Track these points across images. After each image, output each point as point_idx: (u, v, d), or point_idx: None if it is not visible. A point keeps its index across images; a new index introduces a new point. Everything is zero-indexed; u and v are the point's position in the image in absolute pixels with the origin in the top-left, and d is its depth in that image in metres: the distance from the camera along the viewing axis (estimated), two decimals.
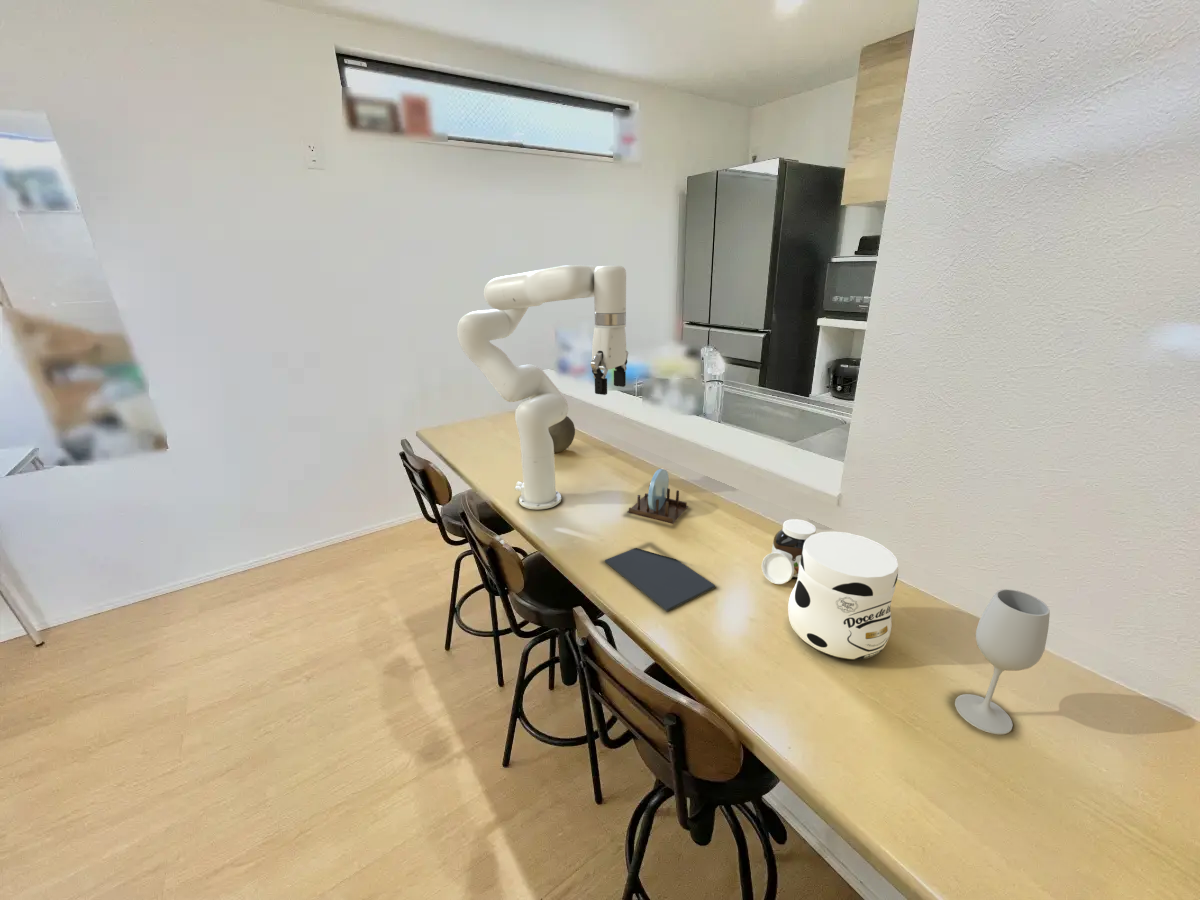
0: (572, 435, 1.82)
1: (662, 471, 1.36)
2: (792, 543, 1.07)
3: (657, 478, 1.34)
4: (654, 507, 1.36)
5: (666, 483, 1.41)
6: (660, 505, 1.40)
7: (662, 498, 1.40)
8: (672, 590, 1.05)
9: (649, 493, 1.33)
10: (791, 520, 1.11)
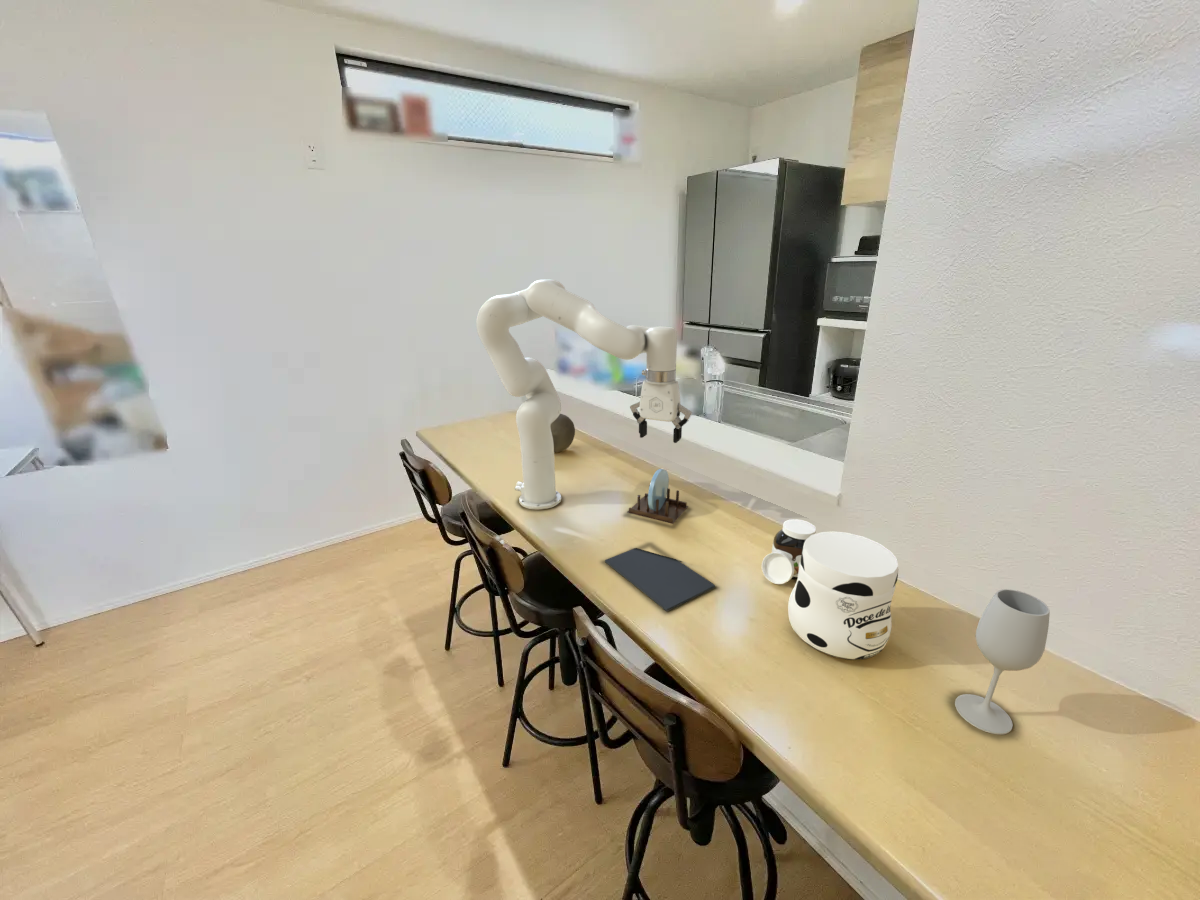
0: (572, 435, 1.82)
1: (662, 471, 1.36)
2: (792, 543, 1.07)
3: (657, 478, 1.34)
4: (654, 507, 1.36)
5: (666, 483, 1.41)
6: (660, 505, 1.40)
7: (662, 498, 1.40)
8: (672, 590, 1.05)
9: (649, 493, 1.33)
10: (791, 520, 1.11)
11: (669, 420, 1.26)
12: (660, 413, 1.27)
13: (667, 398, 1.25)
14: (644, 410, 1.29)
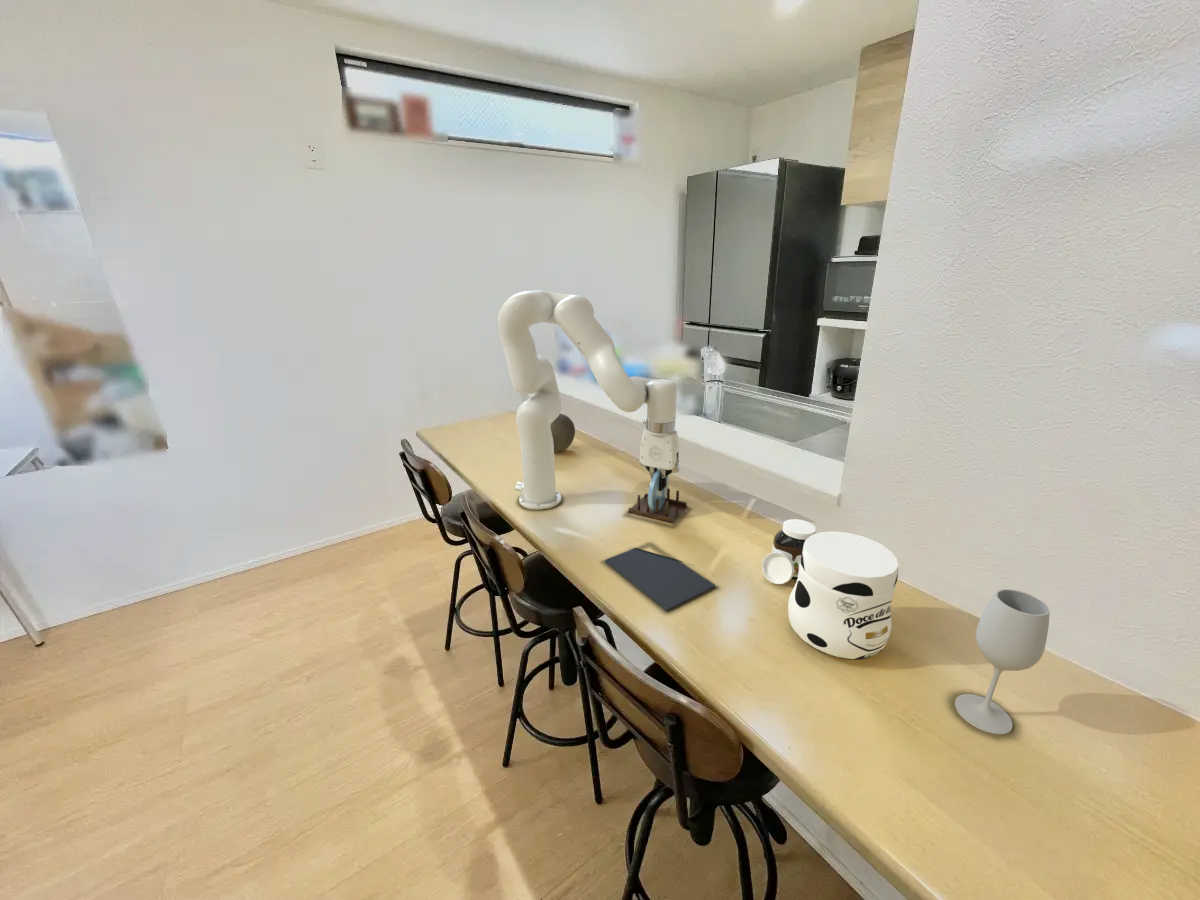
0: (572, 435, 1.82)
1: None
2: (792, 543, 1.07)
3: (657, 478, 1.34)
4: (654, 507, 1.36)
5: None
6: (660, 505, 1.40)
7: (662, 498, 1.40)
8: (672, 590, 1.05)
9: (649, 493, 1.33)
10: (791, 520, 1.11)
11: (668, 468, 1.31)
12: (660, 461, 1.32)
13: (666, 448, 1.30)
14: (644, 458, 1.34)
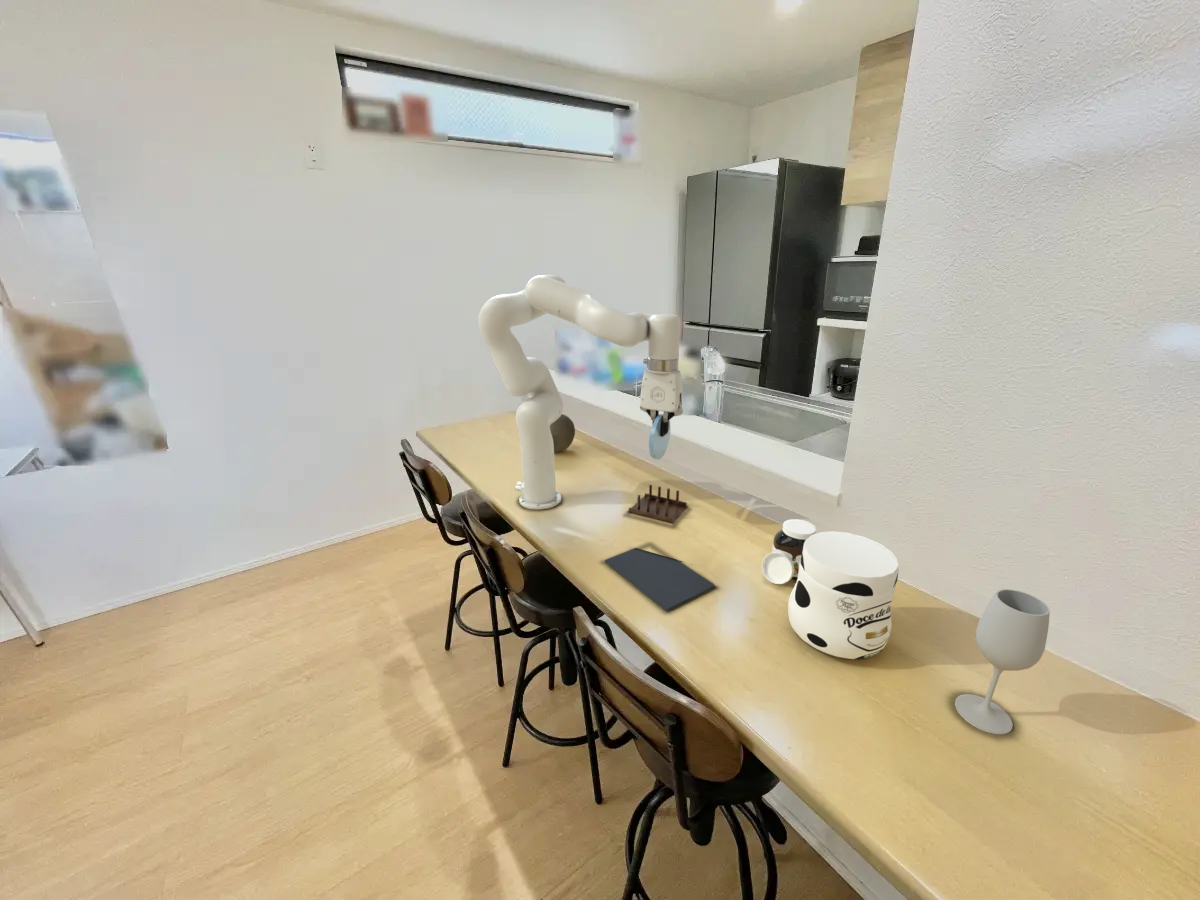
0: (572, 435, 1.82)
1: None
2: (792, 543, 1.07)
3: (659, 423, 1.26)
4: (655, 454, 1.27)
5: None
6: (661, 454, 1.31)
7: (663, 447, 1.32)
8: (672, 590, 1.05)
9: (650, 438, 1.25)
10: (791, 520, 1.11)
11: (671, 410, 1.23)
12: (662, 403, 1.23)
13: (669, 388, 1.21)
14: (645, 400, 1.25)
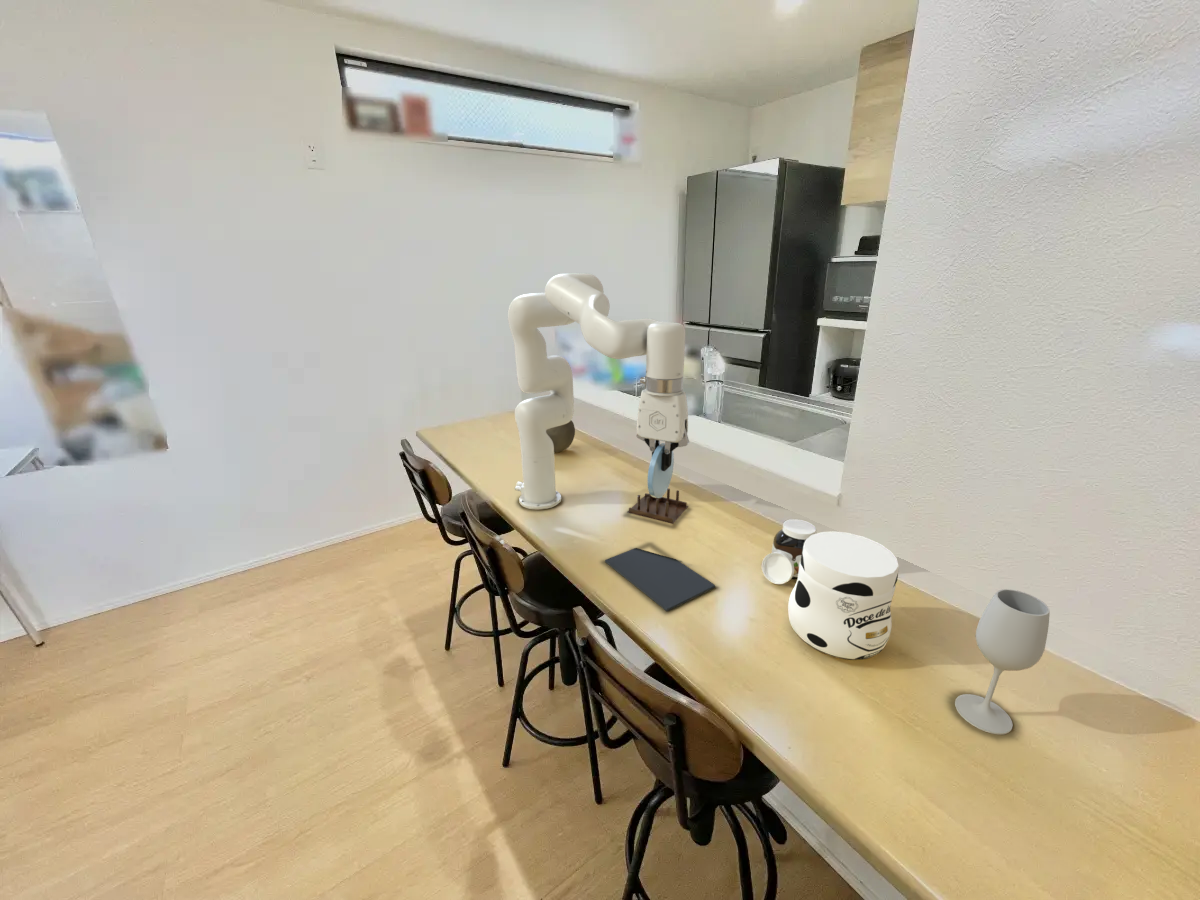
0: (572, 435, 1.82)
1: None
2: (792, 543, 1.07)
3: (659, 455, 1.03)
4: (655, 493, 1.05)
5: None
6: (663, 490, 1.09)
7: (666, 482, 1.09)
8: (672, 590, 1.05)
9: (649, 474, 1.02)
10: (791, 520, 1.11)
11: (674, 441, 1.00)
12: (663, 432, 1.01)
13: (672, 413, 0.98)
14: (643, 427, 1.03)
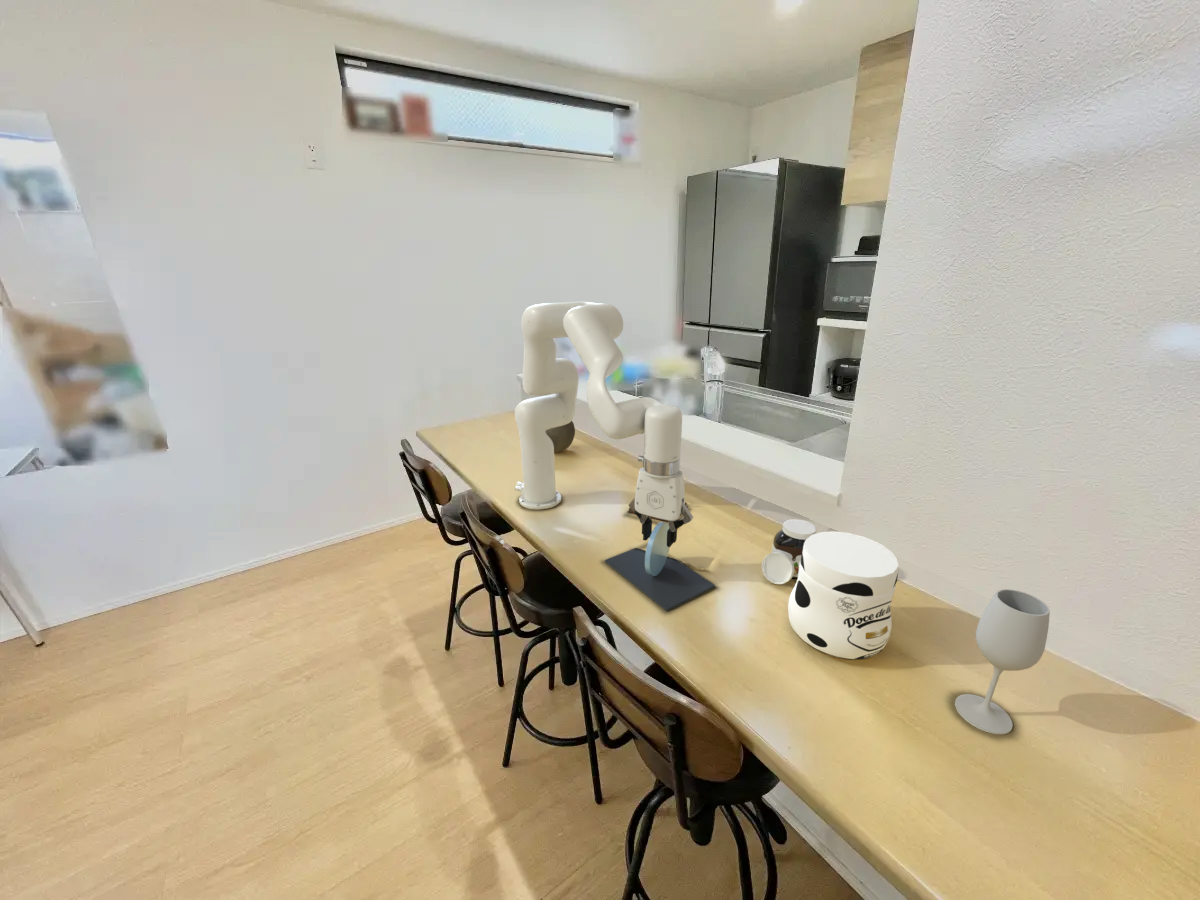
0: (572, 435, 1.82)
1: (663, 526, 1.08)
2: (792, 543, 1.07)
3: (656, 536, 1.06)
4: (653, 572, 1.07)
5: None
6: (660, 567, 1.11)
7: (663, 558, 1.12)
8: (672, 590, 1.05)
9: (646, 556, 1.05)
10: (791, 520, 1.11)
11: (671, 519, 1.03)
12: (660, 510, 1.03)
13: (669, 494, 1.01)
14: (640, 504, 1.05)
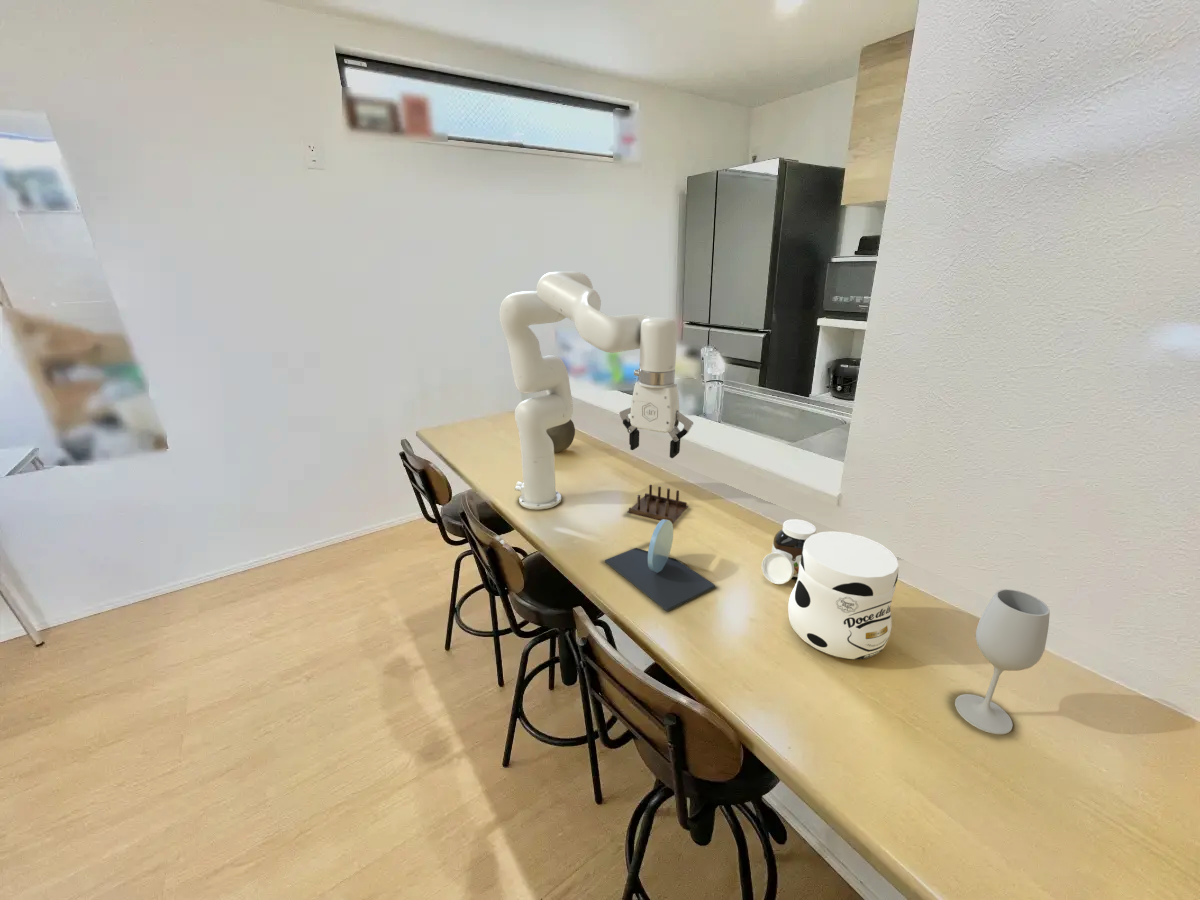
0: (572, 435, 1.82)
1: (667, 522, 1.11)
2: (792, 543, 1.07)
3: (661, 529, 1.08)
4: (654, 566, 1.08)
5: (669, 539, 1.14)
6: (661, 566, 1.12)
7: (664, 558, 1.13)
8: (672, 590, 1.05)
9: (650, 546, 1.06)
10: (791, 520, 1.11)
11: (665, 431, 1.05)
12: (655, 422, 1.05)
13: (663, 405, 1.03)
14: (636, 418, 1.08)
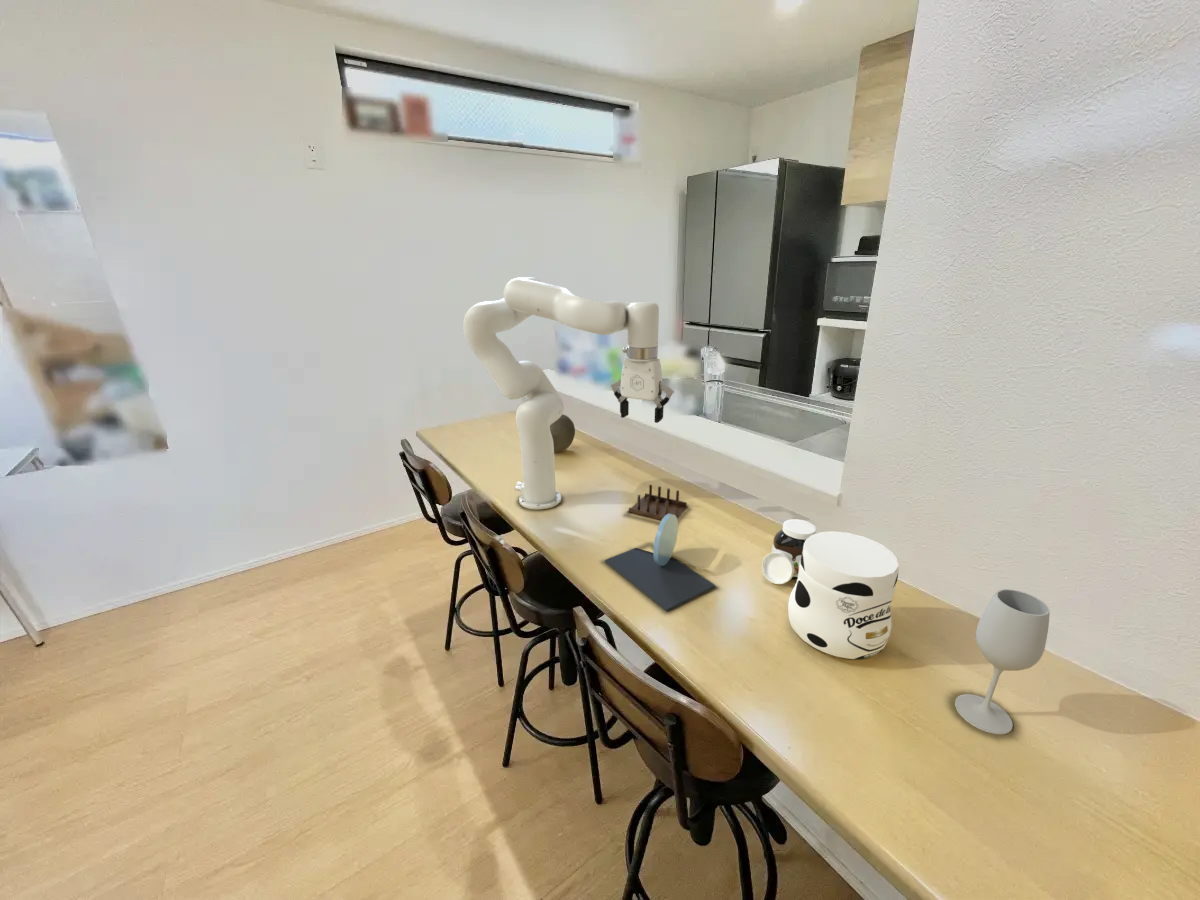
0: (572, 435, 1.82)
1: (676, 519, 1.16)
2: (792, 543, 1.07)
3: (671, 518, 1.13)
4: (659, 550, 1.09)
5: (673, 541, 1.17)
6: (662, 560, 1.12)
7: (666, 555, 1.14)
8: (672, 590, 1.05)
9: (660, 526, 1.09)
10: (791, 520, 1.11)
11: (650, 399, 1.23)
12: (641, 391, 1.24)
13: (648, 376, 1.21)
14: (625, 389, 1.26)
